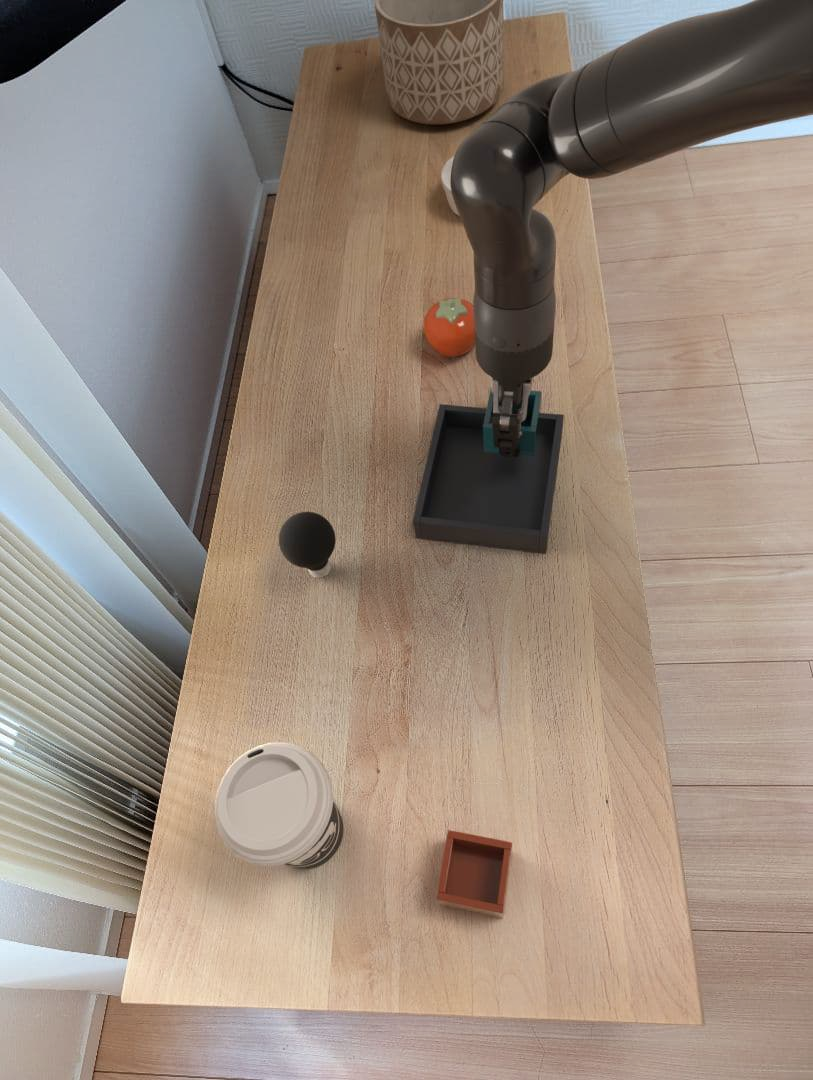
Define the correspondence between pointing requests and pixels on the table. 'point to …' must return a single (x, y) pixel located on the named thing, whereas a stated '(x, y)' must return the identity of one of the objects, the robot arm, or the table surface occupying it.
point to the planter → (441, 57)
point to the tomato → (450, 327)
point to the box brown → (475, 873)
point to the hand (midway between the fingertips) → (513, 431)
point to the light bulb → (308, 542)
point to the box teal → (527, 426)
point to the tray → (487, 485)
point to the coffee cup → (279, 808)
